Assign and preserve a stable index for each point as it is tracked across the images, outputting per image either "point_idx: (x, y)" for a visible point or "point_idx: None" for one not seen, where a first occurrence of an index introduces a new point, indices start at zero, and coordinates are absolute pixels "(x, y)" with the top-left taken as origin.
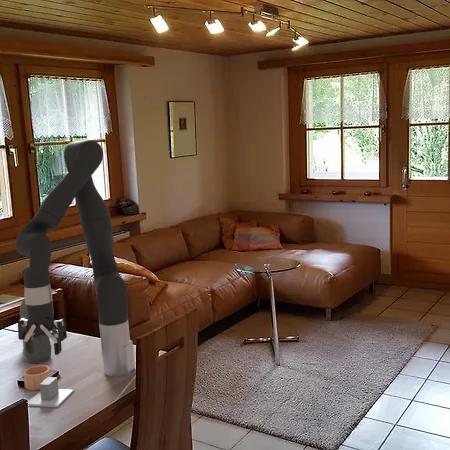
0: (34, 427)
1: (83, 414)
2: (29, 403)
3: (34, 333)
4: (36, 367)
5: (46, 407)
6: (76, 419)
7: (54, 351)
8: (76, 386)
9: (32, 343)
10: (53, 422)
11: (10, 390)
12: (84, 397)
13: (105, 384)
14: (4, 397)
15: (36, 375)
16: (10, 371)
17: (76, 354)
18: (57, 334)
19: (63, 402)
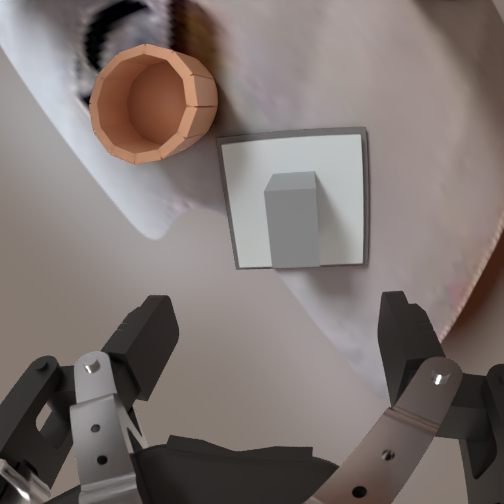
0: (341, 353)
1: (453, 278)
2: (250, 264)
3: (130, 426)
4: (114, 71)
5: (321, 265)
6: (441, 305)
7: (382, 357)
8: (337, 77)
9: (141, 345)
10: None
11: (104, 165)
12: (418, 167)
13: (444, 56)
14: (123, 213)
15: (172, 149)
16: (27, 60)
17: None
18: (436, 426)
19: (365, 225)
